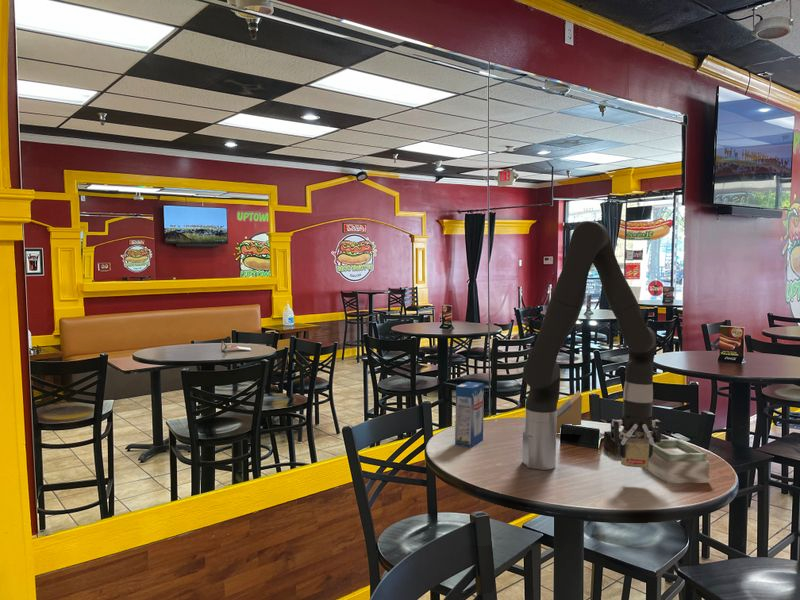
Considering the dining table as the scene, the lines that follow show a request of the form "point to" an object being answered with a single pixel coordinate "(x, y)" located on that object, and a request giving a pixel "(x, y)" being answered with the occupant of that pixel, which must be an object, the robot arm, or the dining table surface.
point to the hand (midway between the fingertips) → (634, 456)
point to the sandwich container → (570, 412)
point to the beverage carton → (613, 446)
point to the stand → (678, 462)
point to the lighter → (636, 451)
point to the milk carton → (469, 414)
